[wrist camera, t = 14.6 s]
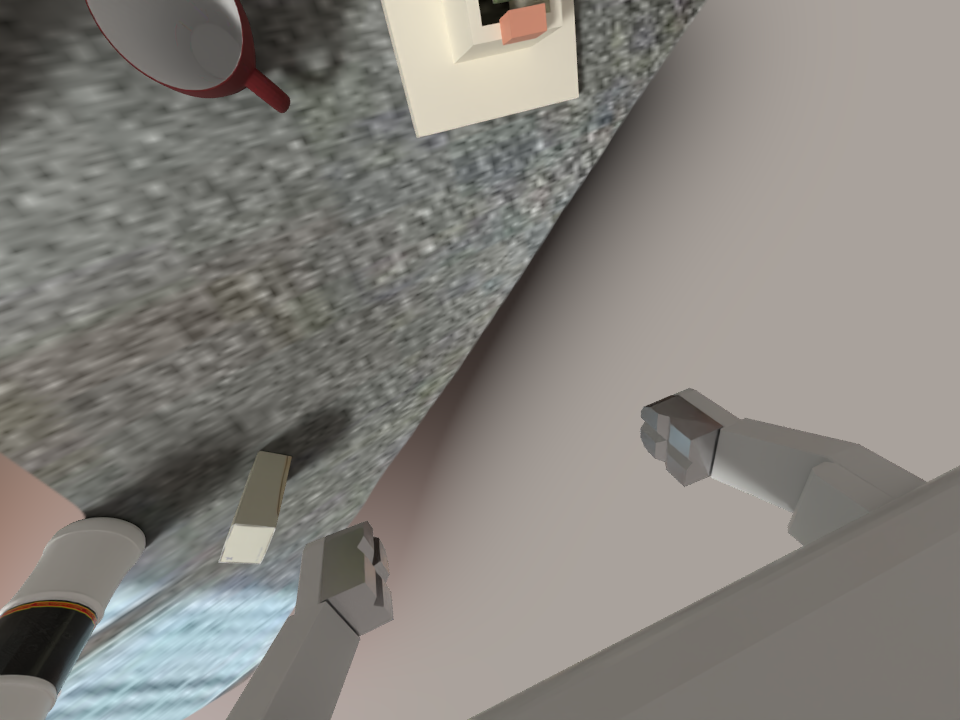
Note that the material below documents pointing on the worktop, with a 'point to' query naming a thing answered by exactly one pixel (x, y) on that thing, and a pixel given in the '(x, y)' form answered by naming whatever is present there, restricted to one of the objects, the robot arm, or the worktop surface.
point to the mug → (188, 45)
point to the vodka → (60, 611)
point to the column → (500, 1)
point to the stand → (481, 59)
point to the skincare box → (257, 510)
